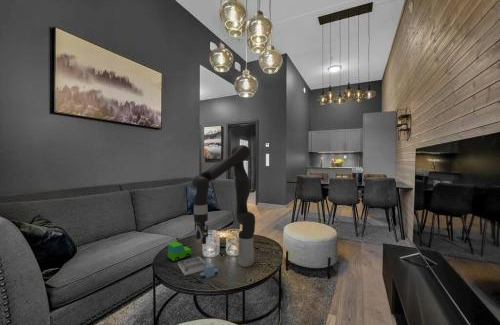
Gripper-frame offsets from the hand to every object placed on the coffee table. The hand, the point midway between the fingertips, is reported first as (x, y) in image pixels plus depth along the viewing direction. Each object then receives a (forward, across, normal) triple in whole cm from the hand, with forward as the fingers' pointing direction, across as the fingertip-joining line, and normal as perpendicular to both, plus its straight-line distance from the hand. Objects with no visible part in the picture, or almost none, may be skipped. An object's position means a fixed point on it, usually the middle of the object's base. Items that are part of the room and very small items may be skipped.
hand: (201, 241), depth 119 cm
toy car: (+21, +31, +4) cm, 37 cm away
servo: (+21, 0, -4) cm, 21 cm away
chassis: (+20, +14, 0) cm, 25 cm away
